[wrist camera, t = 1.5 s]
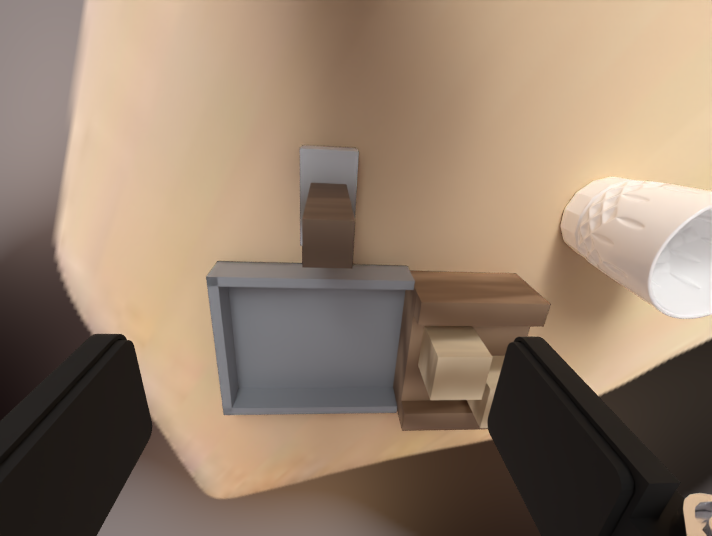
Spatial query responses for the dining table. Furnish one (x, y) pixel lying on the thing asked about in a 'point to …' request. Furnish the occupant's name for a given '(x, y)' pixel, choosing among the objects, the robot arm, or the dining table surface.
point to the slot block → (458, 308)
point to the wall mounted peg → (327, 205)
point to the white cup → (647, 240)
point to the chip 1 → (453, 363)
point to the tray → (306, 336)
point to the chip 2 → (487, 393)
